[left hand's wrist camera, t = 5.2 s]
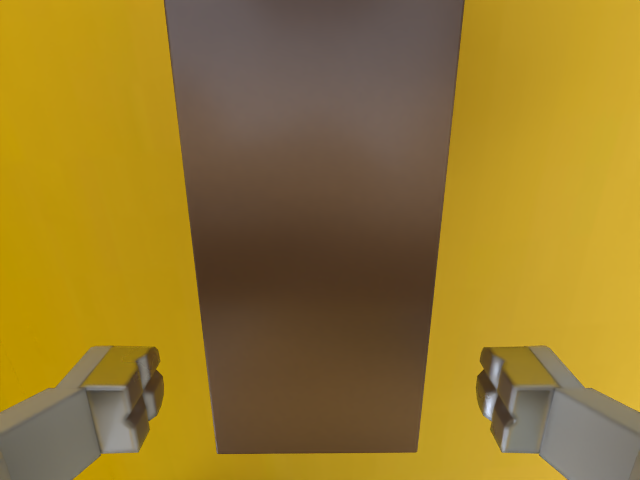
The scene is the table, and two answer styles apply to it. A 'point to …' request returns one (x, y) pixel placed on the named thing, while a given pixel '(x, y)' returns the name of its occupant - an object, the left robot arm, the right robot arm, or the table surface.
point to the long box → (315, 211)
